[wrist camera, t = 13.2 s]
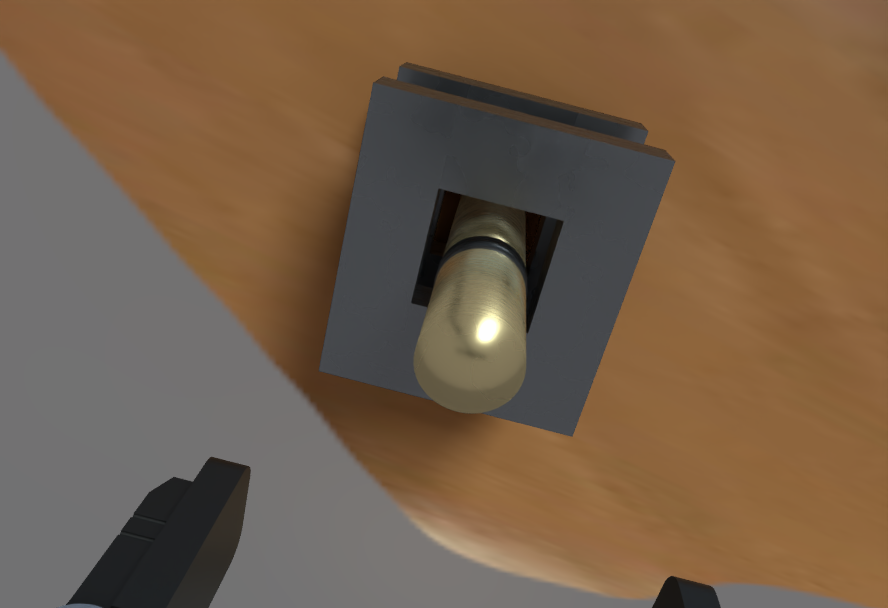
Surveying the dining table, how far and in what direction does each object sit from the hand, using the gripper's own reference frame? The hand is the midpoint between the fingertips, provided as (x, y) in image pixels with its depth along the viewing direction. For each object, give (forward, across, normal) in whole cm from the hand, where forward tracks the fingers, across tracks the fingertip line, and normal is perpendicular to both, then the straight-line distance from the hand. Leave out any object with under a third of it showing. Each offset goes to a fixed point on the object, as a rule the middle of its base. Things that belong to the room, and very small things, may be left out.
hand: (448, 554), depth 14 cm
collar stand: (+26, 0, 0) cm, 26 cm away
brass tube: (+26, 0, 0) cm, 26 cm away
